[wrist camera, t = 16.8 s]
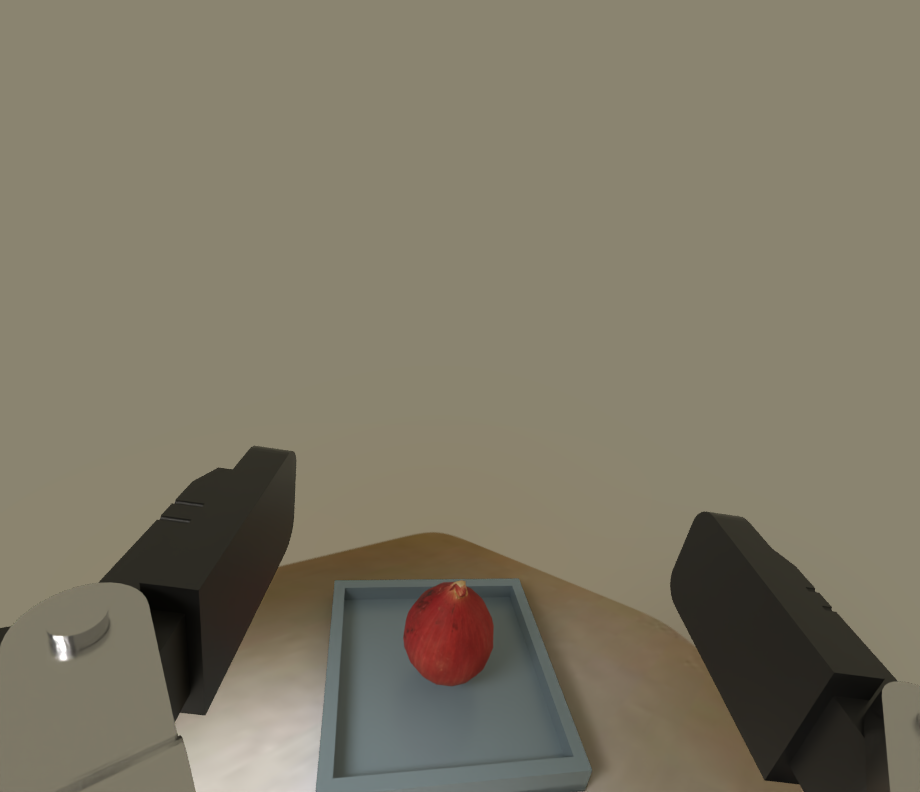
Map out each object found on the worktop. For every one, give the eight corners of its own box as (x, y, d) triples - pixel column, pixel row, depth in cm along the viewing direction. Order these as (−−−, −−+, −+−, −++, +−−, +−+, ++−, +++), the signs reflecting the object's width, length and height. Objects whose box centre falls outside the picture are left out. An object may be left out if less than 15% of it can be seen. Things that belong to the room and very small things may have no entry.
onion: (381, 687, 32) (393, 590, 29) (424, 626, 37) (438, 538, 34) (462, 733, 30) (483, 634, 27) (496, 662, 35) (517, 572, 32)
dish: (313, 819, 25) (315, 797, 25) (333, 598, 39) (334, 580, 38) (584, 790, 28) (592, 770, 28) (514, 595, 42) (518, 578, 41)
